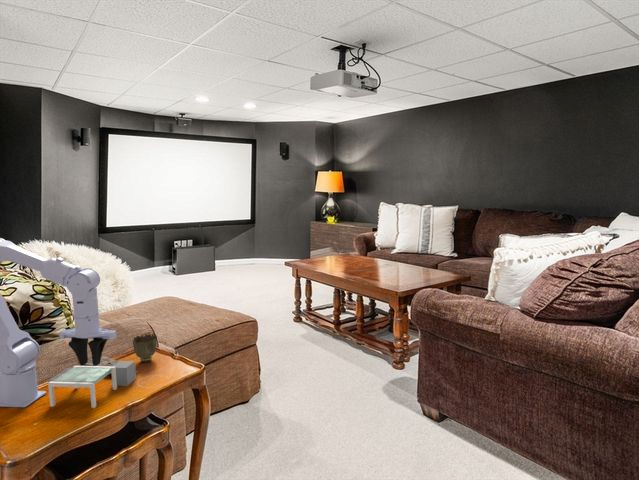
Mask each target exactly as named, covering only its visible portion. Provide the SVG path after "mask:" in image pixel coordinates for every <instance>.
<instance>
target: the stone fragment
mask: <svg viewBox="0 0 639 480" xmlns="http://www.w3.org/2000/svg"><path fill="white" fill-rule="evenodd" d="M105 361H109V362H106V363H103V362H105ZM118 362H119V361H117V360H116V359H113V358H110V357H109V356H101V361H100V364H98V365H97V366H110V367H112V366H114V365H115V364H116V363H118ZM77 363H79V361H78V362H77ZM79 364H80V363H79ZM85 365H87V366H93V362H92V359H89V360H88V362H87V363H86V364H85ZM135 373H137V374H138V373H139V371H138V370H136V369H135ZM110 374H111V375H112V373H110Z"/></svg>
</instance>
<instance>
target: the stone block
mask: <svg viewBox="0 0 639 480" xmlns="http://www.w3.org/2000/svg"><path fill="white" fill-rule="evenodd" d="M112 367H116V381H117V387H118V386H119V387H128V386H130V385H131V384H132V383H134V381H136V379H137V377H136V376H137V374H136V373H135V370H136V362H135V360H119V361H118V363H116V364H115V365H114V366H112Z"/></svg>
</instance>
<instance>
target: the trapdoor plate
mask: <svg viewBox="0 0 639 480" xmlns="http://www.w3.org/2000/svg"><path fill="white" fill-rule="evenodd" d="M110 374H111V369H109V368H75V367H73V366H72V367H67V368H65V369H64V370H63V371H61V372H59V373H57V374H56V375H54V376H52V377H51V378H50V379H48V380H47V382H48V383H49V382H50V381H54V382H90V383H95V385H96V384H97V383H99V382H100V381H102V380H103V379H104V378H106V377H107V376H108V375H110ZM48 383H47V384H48Z"/></svg>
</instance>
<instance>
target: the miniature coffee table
mask: <svg viewBox="0 0 639 480" xmlns="http://www.w3.org/2000/svg"><path fill="white" fill-rule="evenodd" d="M73 367H75V368H109V369H111V373H112V374H111V373H110V374H111V384H112V391H113V390H114V391H115V390H117V389H118V386H117V381H116V367H110V366H93V365H83V366H81V365H74V366H72V368H73ZM47 384H48V394H49V404H50V407H55V406H56V396H55V395H56V394H55V388H56V387H58V388H74V389H75V390H76V389H80V388H84V389H85V388H87V389H88V388H89V392H90V403H91V404H90V405H91V408H92V409H95V408H96V407H97V399H96V398H97V397H96V396H97V395H96V384H95V383H90V382H54V381H50V382H49V383H47Z"/></svg>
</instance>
